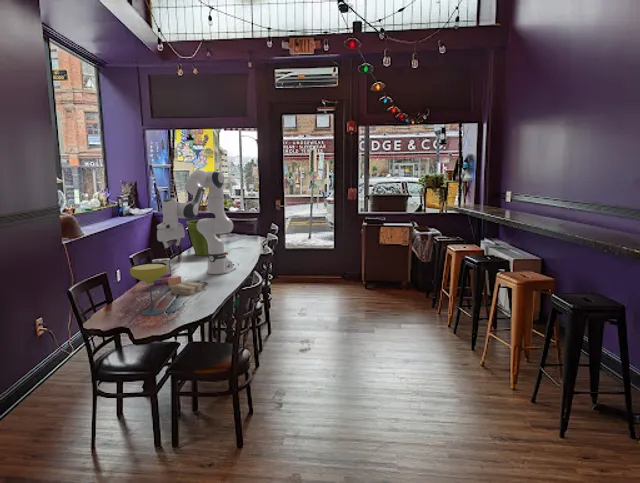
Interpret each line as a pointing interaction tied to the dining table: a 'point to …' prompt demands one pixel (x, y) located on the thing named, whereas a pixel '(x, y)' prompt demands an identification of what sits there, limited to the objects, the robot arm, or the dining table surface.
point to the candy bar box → (164, 278)
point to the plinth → (188, 288)
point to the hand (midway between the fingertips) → (172, 246)
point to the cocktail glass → (149, 279)
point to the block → (174, 280)
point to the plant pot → (198, 239)
